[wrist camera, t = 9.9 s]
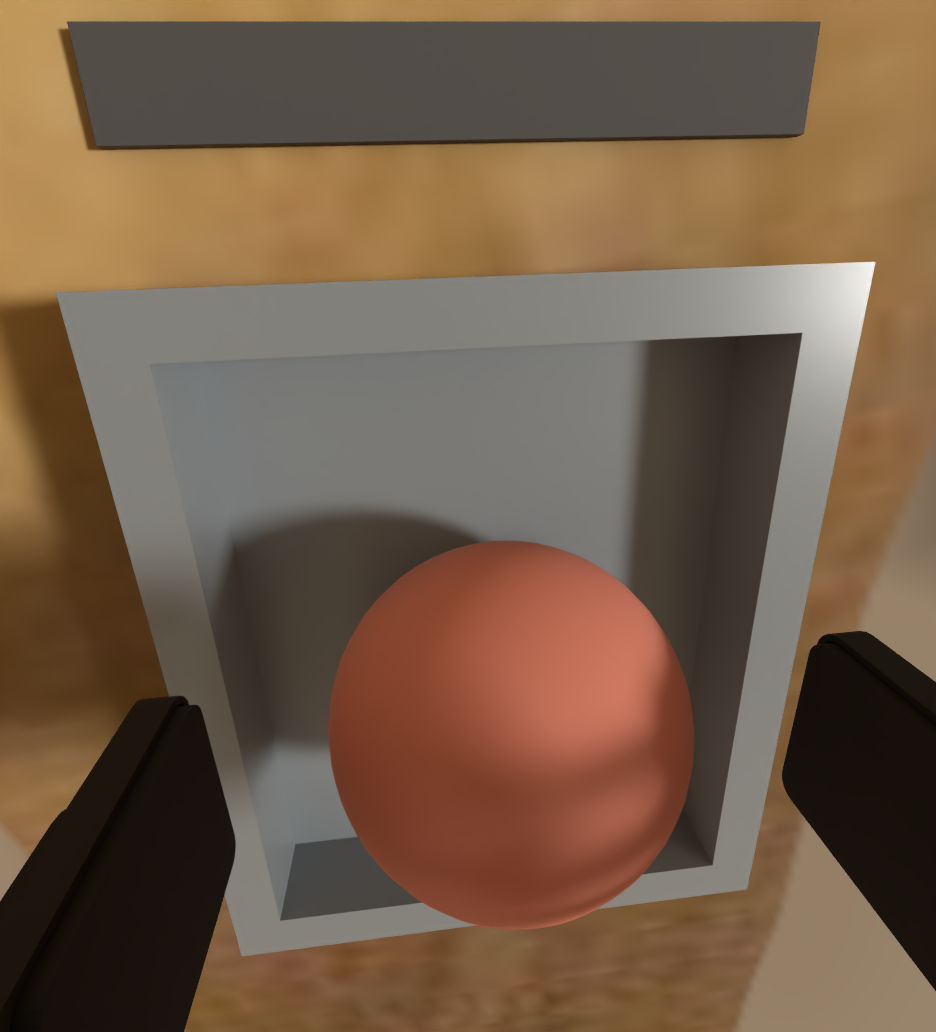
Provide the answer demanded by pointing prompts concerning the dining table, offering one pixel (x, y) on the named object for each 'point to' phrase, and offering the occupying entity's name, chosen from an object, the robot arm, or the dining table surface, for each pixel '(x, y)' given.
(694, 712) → the tray
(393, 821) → the ball
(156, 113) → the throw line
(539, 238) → the dining table surface
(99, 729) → the dining table surface
